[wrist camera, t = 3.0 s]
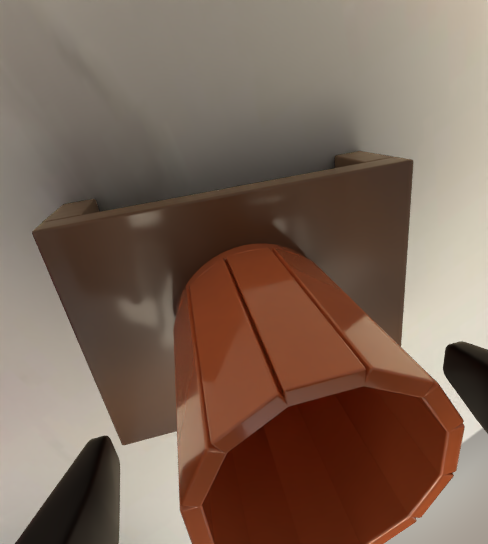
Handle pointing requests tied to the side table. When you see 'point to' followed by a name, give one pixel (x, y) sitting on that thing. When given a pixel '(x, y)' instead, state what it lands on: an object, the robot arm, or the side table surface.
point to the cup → (299, 410)
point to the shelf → (203, 247)
